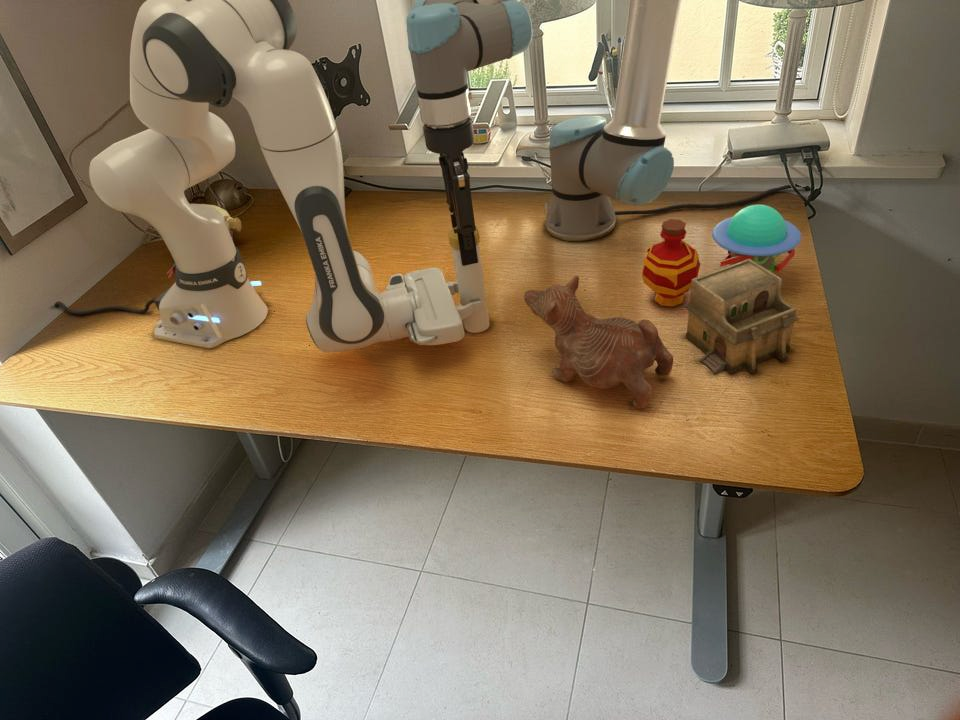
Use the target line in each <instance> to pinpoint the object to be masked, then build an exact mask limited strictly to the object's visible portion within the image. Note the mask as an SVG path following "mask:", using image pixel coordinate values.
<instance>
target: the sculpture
mask: <svg viewBox="0 0 960 720" xmlns="http://www.w3.org/2000/svg"><path fill="white" fill-rule="evenodd" d="M579 283H580V276H579V275H576V274H575V275H574V276H573V277H572V278H571V279H570V280H569V282H568V283H567V284H565V285H561V284H556V285H555V284H554V285H551V286H549V287H548V288H546V289H545V290H540V289H528V290H526V291H525V293H524V294H523V298H524V303H525V304H526V306H527V307H528V308H529V309H530V310H531V312H532V314H533V315H535V316H536V317H538V318H539V319H540V320H541V321H543V323H545V325H547V326H549V327H550V329H552V330H553V331H554V332H555V337H554V345H555V346H554V347H555V348H556V350H557V352H558V353H559V354H560V355H561V356H562V359H561V363H560V366H557V367H556V366H555V367H554V368H553V370H552V377H553V378H555V379H556V380H559V381H561V382H563V383H570V382H572V380H574V379H575V377H576V374H578V376H579V378H580V379H581V380H582V381H583V382H584V383H585V384H586V385H588V386H590V387H592V388H596V389H610V388H613V387H615V386H618V385H620V384H621V383H623V385H624V386H625V387H626V388H627V389H628V390H629V391H630V392H632V393H633V395H634V396H635V397H634V398H633V400H632V406H634V407H635V408H637V409H646V408H647V407H648V405H649V403H650V400H651V398H652V396H653V394H654V390H653V387H652V386H651V384H650V383H649V382H648V381H647V380H646V378H645V370H647V369H649V368H651V367H653V366H654V365H655V362H656V364H657V365H656V367H655V369H654V371H655V374H656V375H658V376H659V377H663V378H665V377H668V376H669V375H670V374H671V373H672V369H673V365H674V356H673V354H672V353H671V352H670V351H669V350H668V348H667V347H666V346H665V344H664V343H663V341H662V340H661V337H660V335H659V331H658V328H657V327H656V325H655V324H654V323H653V322H652V321H651V320H649V319H641V320H640V321H639V322H636V321H635V320H633V319H630V318H626V317H621V316H619V317H618V316H616V317H608V318H607V317H606V318H598V317H596V316H594V315H591V314H589V313H586V312H585V310H584V309H583V307H582V305H581V303H580V301H579V299H578V297H577V295H576V292H577V290H578V288H579Z"/></svg>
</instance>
